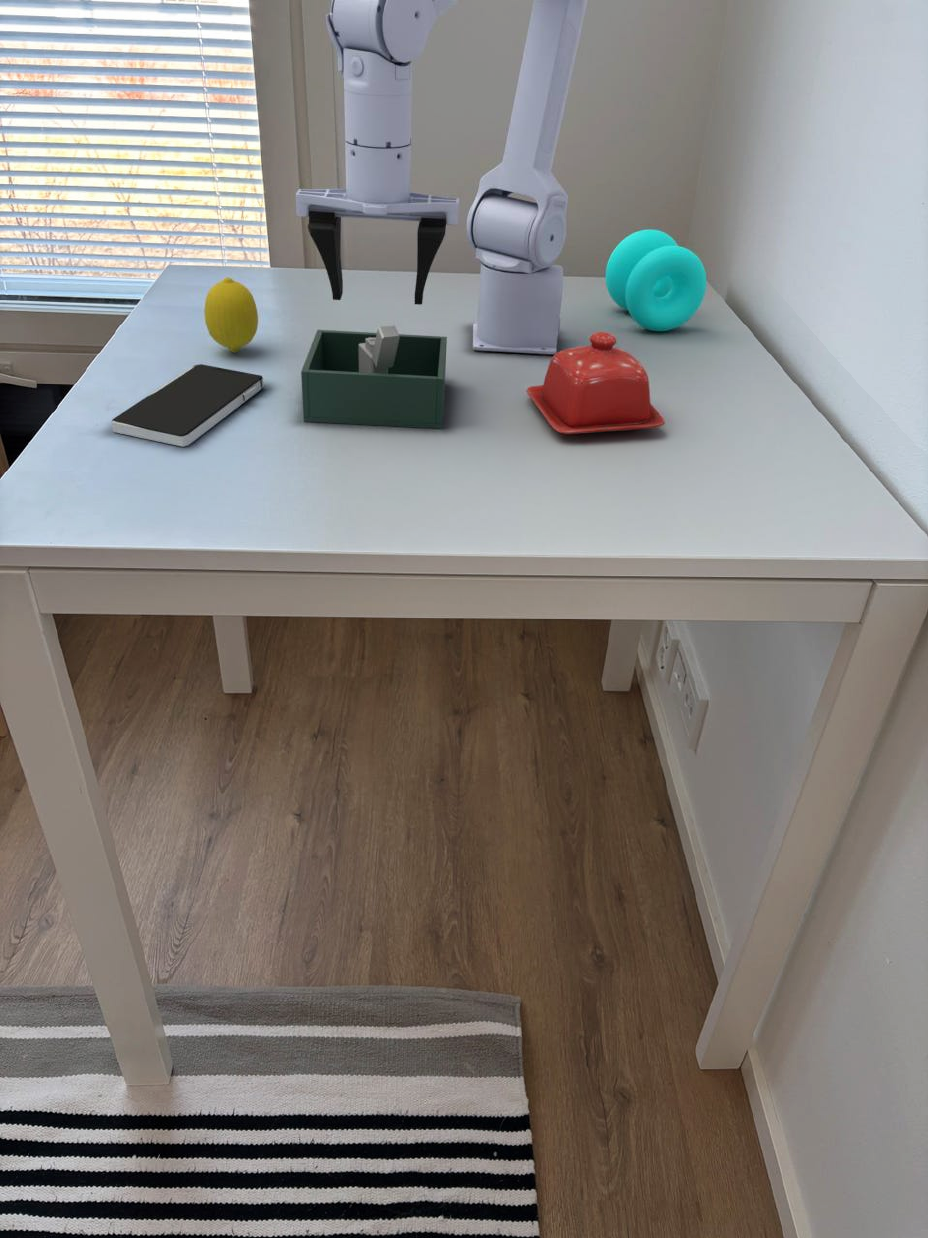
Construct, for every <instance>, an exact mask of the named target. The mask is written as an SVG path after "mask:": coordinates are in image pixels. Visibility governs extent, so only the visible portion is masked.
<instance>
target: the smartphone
mask: <svg viewBox="0 0 928 1238" xmlns="http://www.w3.org/2000/svg"><path fill="white" fill-rule="evenodd" d="M264 387H265V385H264V378H263V375H261V374H255V373H251V372H250V373H249V372H244V371H239V370H234V369H229V368H224V367H218V366H213V365H207V364H202V363H200V364H195V365H193V366H191V367H190V368H188V369H187V370H185V371H184V372H182V373H180V374H179V375H178V376H176V377H175V378H173V379H172V380H170V381H169V382H167V383H166V384H164V385H163V386H161V387H159V388H158V389H157V390H155V391H153V392H152V393H150V394H149V395H147V396H146V397H144V398H142V399H140V400H139V401H138V402H137V403H135V404H134V405H132V406H130V407H129V408H128V409H125V411H123V412H121V413H119V414H118V415H117V416H115V417H114V418H112V420H111V427H112V431H113V433H116V434H121V435H126V436H131V437H135V438H139V439H144V440H150V441H155V442H160V443H163V444H169V445H173V446H178V447H187V446H190V445H191V444H192V443H193V442H195V441H196V440H197V439H199V438H200V437H201V436H202V435H204V434H205V433H207V431H209V430H210V429H211V428H213V427H214V426H215V425H217V424H218V423H220V422H221V421H222V420H223V419H224V418H226V417H227V416H229V414H231V413H232V412H234V411H235V410H236V409H238V408H239V407H240V406H242V405H243V404H245V402H247V401H248V400H249V399H251V398H252V397H253V396H255V395H256V394H257V393H258V392H260V391H261V390H263V389H264Z"/></svg>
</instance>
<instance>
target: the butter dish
mask: <svg viewBox="0 0 928 1238" xmlns="http://www.w3.org/2000/svg"><path fill="white" fill-rule="evenodd" d="M589 342H590V343H591V345H584V346H575V347H570V348H566V349H563V350H559V351H557V352H556V354H553V356H552V357H551V359H550V361H549V364H548V368H547V370H546V374H545V377H544V380H543V384H540V385H532V386H528V387H527V388H526V390H525V391H526V394H527V395H528V397H529V398H530V400H531V401H532V402H533V404H534V405H535V406H536V407H537V409H538V410H539V411H540V412H541V414H542V415H543V416H544V418H545V420H546V422H548V424H549V426H550V427H551V428H553V429H554V431H556V432H558V433H560V434H563V435H564V434H565V435H572V434H590V433H591V434H593V433H605V432H619V431H633V430H641V429H654V428H659V427H662V426H664V425H665V423H666V421H665V419H664V417H663V416H662V415H661V414H660V412H659V411H658V410H657V409H656V408H655V407H654V406H653V405H652V404H651V395H650V394H651V393H650V391H651V390H650V381H649V375H648V373H647V370H646V369H645V368H644V366H643V365H642V364H641V362H640V361H639V360H638V359H637V358H635V356H633V355H632V354H630V353H629V352H628V351H626V350H624V349H621V348H619V347H615V344H617V338H616V337H615V335H613V334H612V333H609V332H605V331H597V332H594V333H592V334H591V335H590V337H589Z"/></svg>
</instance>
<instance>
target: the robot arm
mask: <svg viewBox="0 0 928 1238" xmlns="http://www.w3.org/2000/svg"><path fill="white" fill-rule="evenodd" d="M588 1H589V0H533V4H532V9H531V14H530V19H529V23H528V28H527V34H526V40H525V45H524V50H523V55H522V59H521V65H520V71H519V75H518V81H517V85H516V91H515V96H514V102H513V106H512V111H511V116H510V121H509V126H508V132H507V138H506V141H505V146H504V152H503V158H502V162H500V163H499V164H497V166H495V167H494V168H493V169H491V170H489V171H488V172H486V173H485V174H484V175H483V176H482V177H481V178H480V180H479V184H478V189H477V193H476V195H475V198H474V200H473V203H472V205H470V208H469V211H468V214H467V217H466V234H467V235H466V236H467V240H468V242H469V245H470V246H471V247H472V249H474V250H475V259H476V260H479V261H480V270H479V271H480V274H479V286H478V287H479V288H478V303H477V304H478V305H477V321H476V322H474V323H473V324H472V349H473V350H474V351H481V352H482V351H484V352H500V353H501V352H502V353H517V354H520V353H521V354H538V355H555V354H556V353H557V352H558V351H557V346H558V337H559V336H558V335H559V333H560V330H561V309H562V302H563V301H562V300H563V288H564V270H563V266H561V265H557V264H554V262H555V261H556V260H557V259H558V258H559V256H560V255H561V254H562V253H561V252H562V250H563V248H564V245H565V242H566V237H567V210H568V205H569V195H568V194H567V192H566V191H565V189H564V188H563V187H562V185H561V184H560V183H559V181H558V180H557V178H556V177H555V176H554V174H553V173H552V168H553V164H554V159H555V154H556V149H557V145H558V141H559V135H560V131H561V127H562V122H563V118H564V114H565V113H564V112H565V108H566V103H567V99H568V94H569V90H570V85H571V80H572V75H573V72H574V66H575V61H576V57H577V52H578V47H579V42H580V39H581V34H582V33H581V32H582V29H583V24H584V21H585V20H584V19H585V14H586V10H587V6H588ZM458 2H459V0H331V2H330V7H329V9H330V10H329V13H327V14H326V15H325V19H326V21H325V22H326V28H327V32H328V35H329V36H328V37H329V38H330V40H331V43H332V44H333V46H334V48H335V50H336V54H337V70H338V72H340V76H341V78H343V89H344V90H343V94H344V95H343V97H344V99H343V100H344V101H343V103H344V144H345V145H344V148H345V149H344V150H345V151H344V152H345V154H344V155H345V188H323V189H322V188H321V189H319V188H317V189H313V188H311V189H310V188H308V189H307V188H299V189H297V192H296V193H295V207H296V208H295V212H296V213H295V214H296V217H297V218H301V217H302V218H308V224H307V230H308V232H309V236H310V237H311V239H312V241H313V242H314V245H315V247H316V249H317V251H318V253H319V255H320V257H321V260H322V262H323V265H324V268H325V270H326V274H327V278H328V281H329V285H330V289H331V293H332V300H333V301H341V299H342V297H343V293H344V281H343V280H344V279H343V270H342V258H341V257H342V255H341V250H342V249H341V247H342V246H341V245H342V243H341V242H342V241H341V239H342V237H341V236H342V235H341V233H342V232H341V231H342V218H350V219H351V218H352V219H353V218H354V219H367V220H369V219H371V220H387V221H388V220H389V221H405V222H418V225H417V235H416V237H417V238H416V241H417V243H416V244H417V245H416V247H417V248H416V249H417V250H416V252H417V253H416V257H417V259H416V279H415V287H414V305H417V306H418V305H420V306H421V305H423V300H424V291H425V287H426V283H427V279H428V276H429V273H430V269H431V268H432V265H433V262H434V260H435V258H436V255H437V253H438V251H439V249H440V247H441V245H442V243H443V241H444V238H445V237H446V229H447V226H458V225H459V213H460V208H459V207H460V198H459V197H447V196H440V195H433V194H426V193H420V192H419V193H418V192H414V191H413V192H412V191H411V171H412V165H411V163H412V111H413V110H412V109H413V107H412V106H413V105H412V104H413V102H412V101H413V61H414V60H415V59H418V58H420V56H421V55H422V53H423V52H424V49H425V47H426V44H427V42H428V38H429V34H430V31H431V29H432V28H433V27H434V26H435V22H436V21H437V20H438V19H439V18H440V17H441V16H443V15H444V14H445V13H446V12H447V11H448V10H449V9H450V8H451V7H453V6H454V5H455V4H456V3H458ZM512 194H519V195H523V196H527V197H530V198H532V199H533V200H535V202H532V201H529V200H525V199H520V198H517V197H512V196H510V195H512Z"/></svg>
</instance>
